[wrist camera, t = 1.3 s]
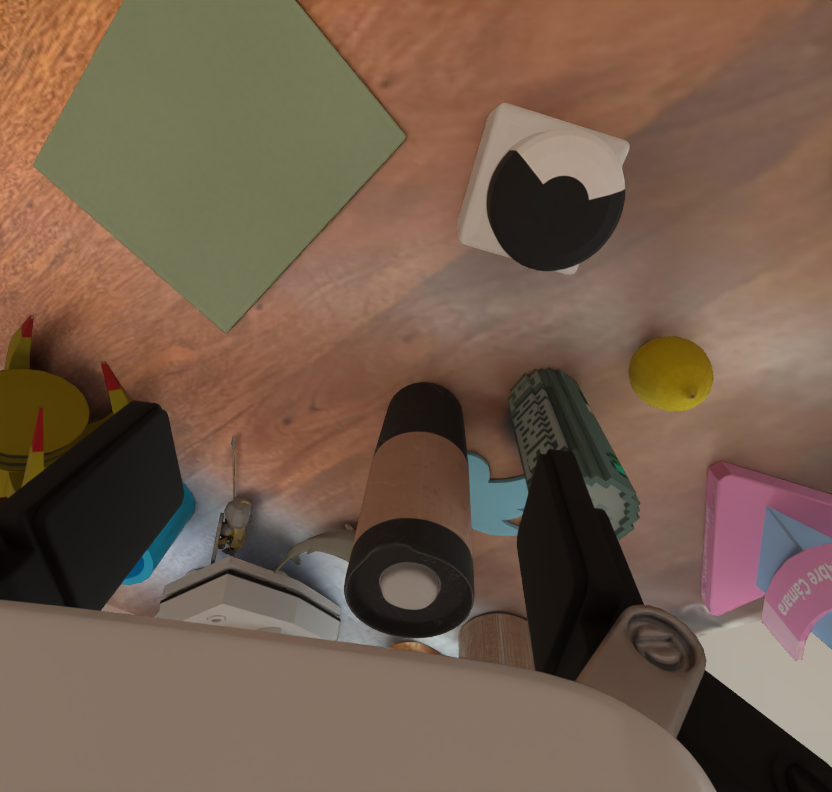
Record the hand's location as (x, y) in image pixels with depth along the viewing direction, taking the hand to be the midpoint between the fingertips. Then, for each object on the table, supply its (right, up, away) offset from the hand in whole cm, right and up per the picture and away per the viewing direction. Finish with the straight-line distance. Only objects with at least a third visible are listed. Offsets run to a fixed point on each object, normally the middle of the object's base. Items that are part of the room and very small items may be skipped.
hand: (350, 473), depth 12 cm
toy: (-20, -16, +39) cm, 47 cm away
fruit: (+22, +6, +28) cm, 35 cm away
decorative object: (+8, -13, +38) cm, 41 cm away
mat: (-13, +20, +22) cm, 32 cm away
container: (+9, +17, +22) cm, 30 cm away
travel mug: (+2, 0, +32) cm, 32 cm away
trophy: (+36, -12, +36) cm, 52 cm away
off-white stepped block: (-20, -25, +40) cm, 51 cm away
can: (+13, +2, +30) cm, 33 cm away
